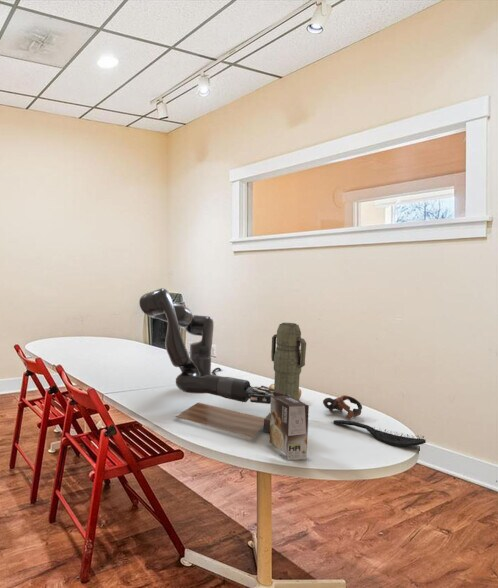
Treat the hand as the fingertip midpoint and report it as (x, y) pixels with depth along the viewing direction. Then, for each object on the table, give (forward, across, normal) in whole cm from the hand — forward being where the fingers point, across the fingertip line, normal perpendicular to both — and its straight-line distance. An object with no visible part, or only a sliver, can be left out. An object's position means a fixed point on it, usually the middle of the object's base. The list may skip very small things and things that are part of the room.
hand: (288, 400), depth 128 cm
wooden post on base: (-3, 0, +11) cm, 11 cm away
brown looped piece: (+10, +37, +13) cm, 41 cm away
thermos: (-5, +20, +13) cm, 24 cm away
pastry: (-10, +42, +13) cm, 45 cm away
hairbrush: (+21, +22, +13) cm, 33 cm away
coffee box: (+2, -11, +13) cm, 17 cm away
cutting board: (-21, 0, +13) cm, 24 cm away
